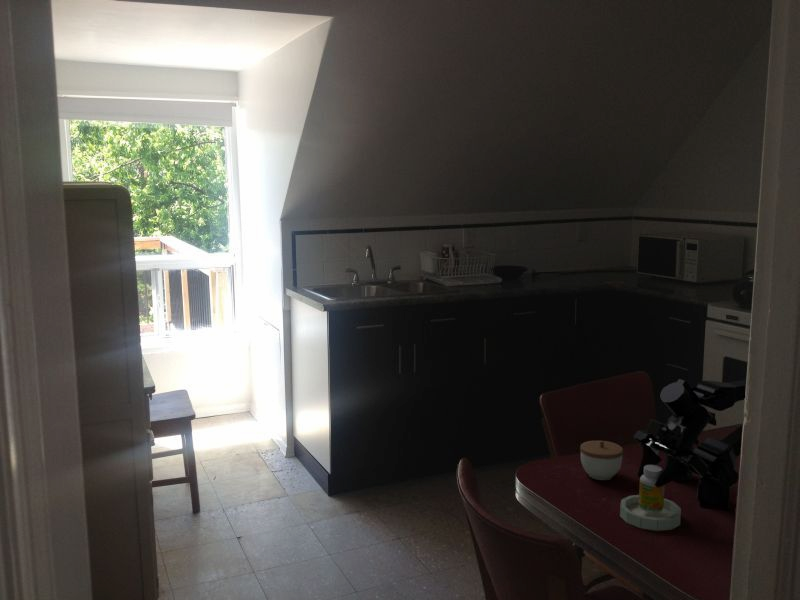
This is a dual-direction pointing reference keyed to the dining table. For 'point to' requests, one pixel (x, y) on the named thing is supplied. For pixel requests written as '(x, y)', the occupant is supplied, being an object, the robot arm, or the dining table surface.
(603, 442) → the lidded jar
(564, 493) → the dining table surface
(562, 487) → the dining table surface
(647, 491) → the supplement bottle
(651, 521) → the bowl
